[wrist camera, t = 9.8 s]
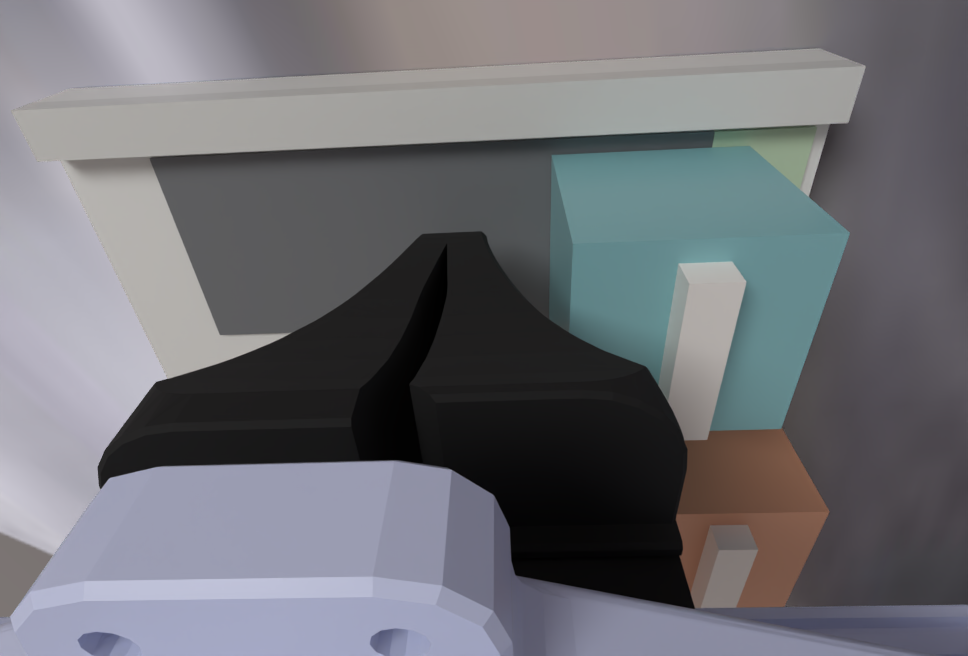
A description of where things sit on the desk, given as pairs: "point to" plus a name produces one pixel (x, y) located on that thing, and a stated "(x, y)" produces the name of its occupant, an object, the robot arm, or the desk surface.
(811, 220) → the teal handled block
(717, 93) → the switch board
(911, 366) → the desk surface
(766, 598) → the orange block with handle
